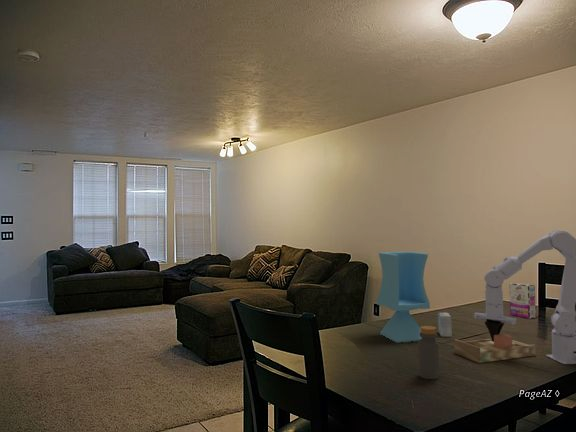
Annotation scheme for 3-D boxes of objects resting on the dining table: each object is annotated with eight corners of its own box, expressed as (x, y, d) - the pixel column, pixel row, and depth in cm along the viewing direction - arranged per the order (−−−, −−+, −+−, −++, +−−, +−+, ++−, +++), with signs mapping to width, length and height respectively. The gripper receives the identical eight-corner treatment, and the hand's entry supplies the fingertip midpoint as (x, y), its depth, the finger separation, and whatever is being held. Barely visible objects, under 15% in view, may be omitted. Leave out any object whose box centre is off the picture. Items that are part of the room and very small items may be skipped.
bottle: (423, 371, 142) (422, 324, 142) (441, 375, 138) (440, 327, 138) (416, 376, 137) (415, 327, 138) (434, 380, 134) (433, 330, 134)
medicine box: (451, 337, 185) (451, 316, 185) (440, 336, 186) (440, 315, 186) (448, 332, 193) (448, 312, 193) (438, 332, 194) (437, 312, 194)
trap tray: (507, 346, 170) (507, 333, 170) (535, 355, 158) (534, 341, 158) (454, 353, 162) (454, 339, 162) (479, 362, 150) (478, 347, 150)
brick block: (501, 345, 160) (501, 333, 160) (512, 348, 157) (512, 336, 157) (493, 347, 158) (493, 335, 158) (504, 350, 155) (504, 337, 155)
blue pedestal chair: (395, 343, 175) (393, 254, 176) (377, 334, 190) (375, 252, 191) (430, 340, 180) (428, 253, 180) (409, 331, 195) (408, 251, 195)
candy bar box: (536, 318, 219) (535, 284, 220) (529, 319, 217) (528, 285, 218) (516, 314, 229) (515, 282, 230) (509, 315, 227) (508, 282, 228)
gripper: (519, 304, 158) (520, 343, 158) (480, 299, 169) (481, 335, 169) (510, 307, 154) (511, 347, 153) (470, 301, 165) (471, 338, 165)
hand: (494, 341), depth 161 cm, fingers closed
